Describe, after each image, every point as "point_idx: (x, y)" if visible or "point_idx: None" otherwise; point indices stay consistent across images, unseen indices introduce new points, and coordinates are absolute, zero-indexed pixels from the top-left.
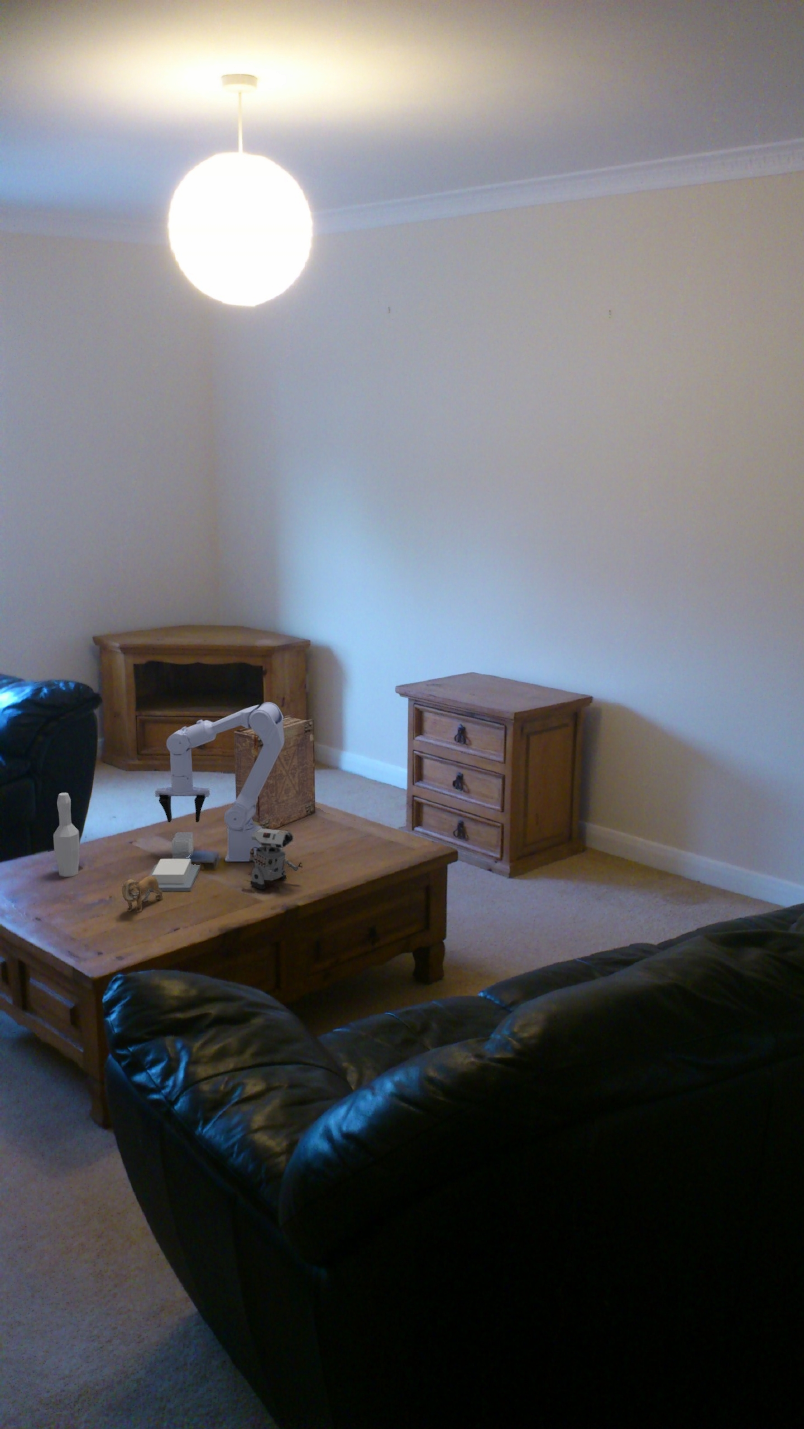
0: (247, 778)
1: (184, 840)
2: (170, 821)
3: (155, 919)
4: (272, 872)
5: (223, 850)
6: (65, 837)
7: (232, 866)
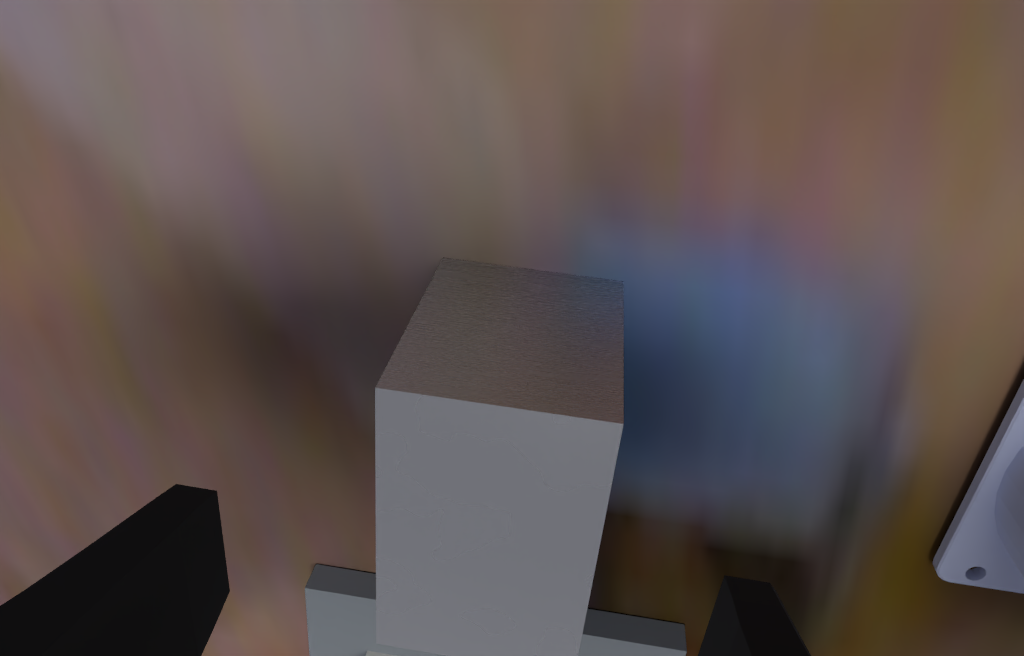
0: None
1: (524, 652)
2: (224, 585)
3: None
4: None
5: (989, 266)
6: None
7: (971, 646)
